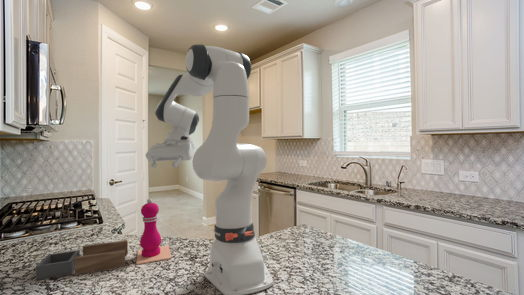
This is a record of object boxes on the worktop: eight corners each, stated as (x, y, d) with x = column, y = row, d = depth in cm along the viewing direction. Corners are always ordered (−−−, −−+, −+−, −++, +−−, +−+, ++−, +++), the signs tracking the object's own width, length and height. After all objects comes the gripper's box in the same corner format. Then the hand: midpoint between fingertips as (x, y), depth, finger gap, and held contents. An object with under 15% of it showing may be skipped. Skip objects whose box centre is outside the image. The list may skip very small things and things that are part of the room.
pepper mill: (161, 249, 105) (160, 196, 105) (162, 255, 98) (160, 199, 98) (140, 252, 102) (139, 198, 102) (139, 259, 95) (138, 201, 96)
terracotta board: (171, 259, 96) (171, 257, 96) (136, 264, 92) (136, 263, 92) (168, 246, 109) (168, 245, 109) (138, 251, 105) (138, 249, 105)
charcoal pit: (71, 274, 86) (71, 261, 86) (36, 280, 83) (35, 266, 83) (79, 261, 97) (79, 250, 97) (48, 266, 93) (48, 254, 93)
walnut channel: (124, 266, 91) (124, 251, 91) (74, 274, 86) (74, 258, 86) (127, 253, 103) (127, 239, 103) (83, 260, 98) (83, 245, 98)
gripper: (150, 139, 123) (137, 162, 113) (193, 137, 119) (183, 160, 109) (156, 149, 127) (144, 172, 117) (198, 147, 123) (189, 171, 114)
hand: (163, 166), depth 113 cm, fingers open, 8 cm apart
